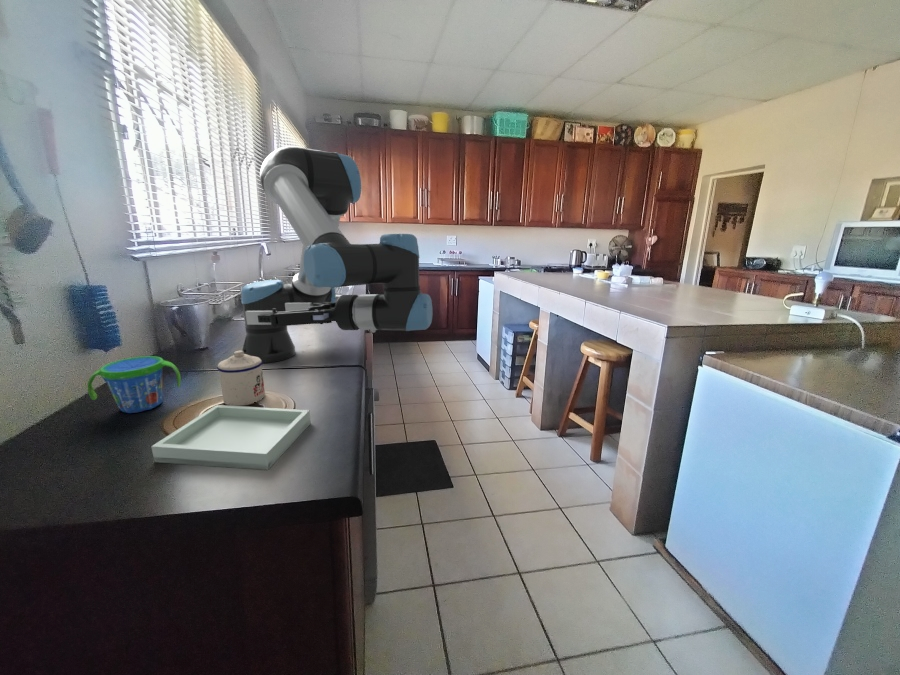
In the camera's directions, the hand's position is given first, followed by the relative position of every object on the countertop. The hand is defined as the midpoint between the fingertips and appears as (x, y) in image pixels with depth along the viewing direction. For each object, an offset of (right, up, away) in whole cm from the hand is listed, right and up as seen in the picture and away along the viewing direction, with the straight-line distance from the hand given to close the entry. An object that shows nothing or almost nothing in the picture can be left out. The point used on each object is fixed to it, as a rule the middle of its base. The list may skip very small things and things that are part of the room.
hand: (268, 312), depth 83 cm
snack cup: (-28, -21, 0) cm, 35 cm away
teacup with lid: (-8, -20, +6) cm, 22 cm away
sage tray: (+1, -25, -13) cm, 28 cm away
